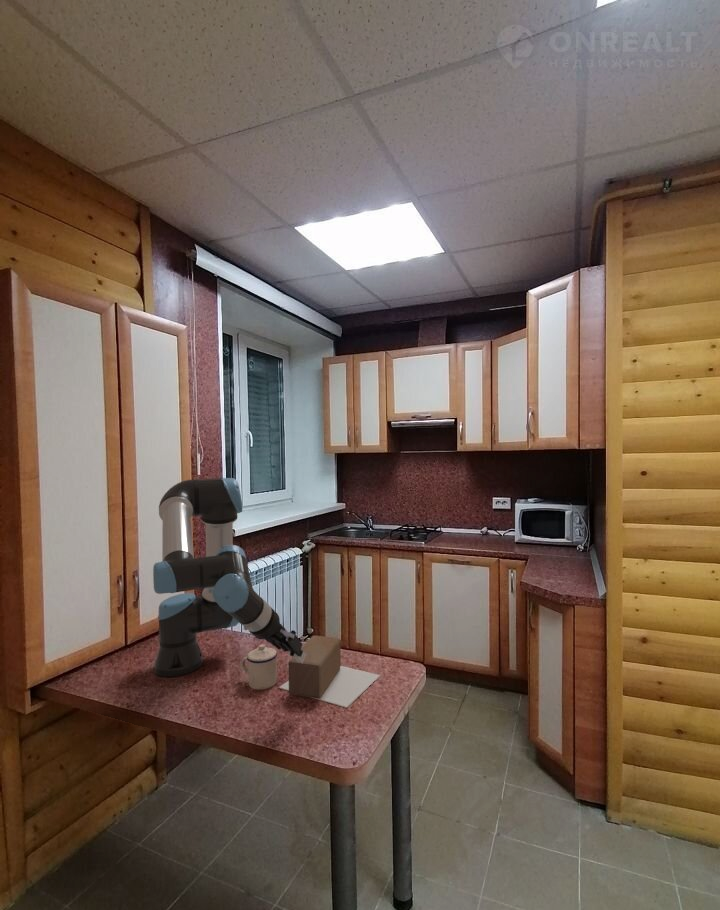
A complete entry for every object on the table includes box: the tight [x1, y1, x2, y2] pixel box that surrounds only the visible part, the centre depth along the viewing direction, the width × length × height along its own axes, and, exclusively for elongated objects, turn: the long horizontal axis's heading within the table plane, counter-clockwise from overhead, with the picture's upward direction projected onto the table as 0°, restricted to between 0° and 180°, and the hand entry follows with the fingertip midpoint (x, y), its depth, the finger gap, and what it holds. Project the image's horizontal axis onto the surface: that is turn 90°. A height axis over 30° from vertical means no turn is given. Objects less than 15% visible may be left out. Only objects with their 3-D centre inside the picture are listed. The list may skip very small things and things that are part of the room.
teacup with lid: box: [240, 643, 278, 691], centre depth 142 cm, size 12×9×12 cm
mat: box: [278, 665, 381, 709], centre depth 140 cm, size 24×20×1 cm
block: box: [288, 635, 342, 699], centre depth 141 cm, size 10×10×20 cm
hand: (302, 658), depth 128 cm, fingers closed
